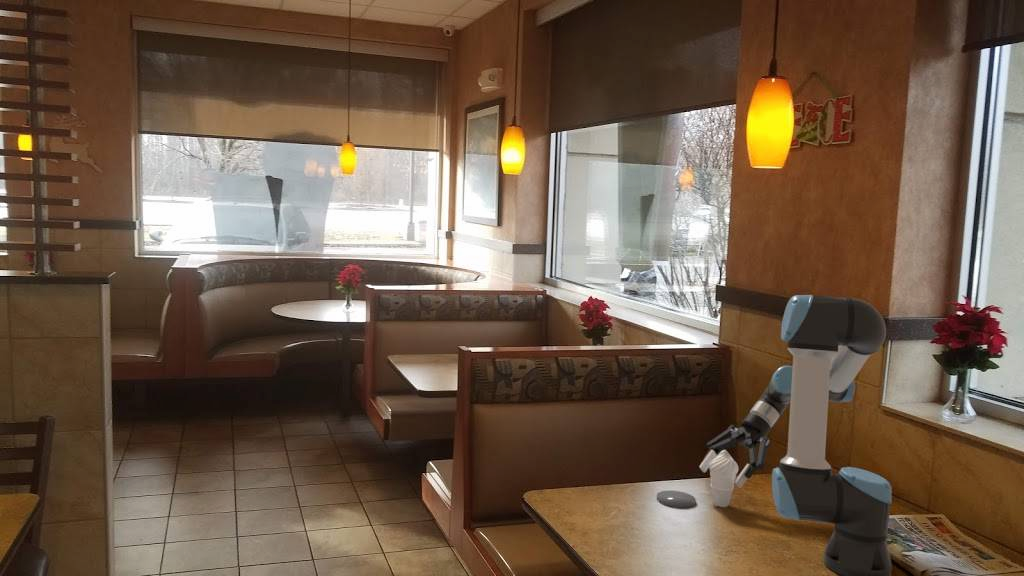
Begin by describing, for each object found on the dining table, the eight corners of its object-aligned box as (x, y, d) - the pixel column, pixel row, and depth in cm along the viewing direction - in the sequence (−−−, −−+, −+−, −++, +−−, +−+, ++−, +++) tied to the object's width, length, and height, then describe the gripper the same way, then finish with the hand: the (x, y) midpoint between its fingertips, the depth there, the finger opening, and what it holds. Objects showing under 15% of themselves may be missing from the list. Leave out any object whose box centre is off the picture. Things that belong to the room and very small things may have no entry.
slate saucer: (689, 511, 225) (689, 507, 225) (651, 502, 231) (651, 498, 230) (700, 499, 235) (700, 496, 235) (663, 491, 240) (664, 487, 240)
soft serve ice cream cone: (736, 511, 227) (741, 456, 225) (705, 508, 228) (710, 453, 227) (734, 501, 235) (739, 447, 233) (704, 497, 236) (709, 444, 235)
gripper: (800, 440, 228) (759, 499, 222) (733, 417, 249) (693, 471, 242) (789, 423, 224) (747, 483, 218) (722, 402, 245) (682, 456, 239)
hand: (719, 477), depth 230 cm, fingers open, 13 cm apart
